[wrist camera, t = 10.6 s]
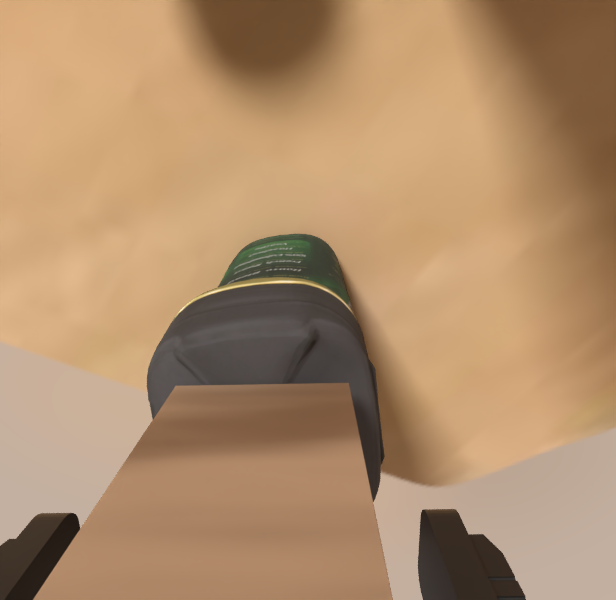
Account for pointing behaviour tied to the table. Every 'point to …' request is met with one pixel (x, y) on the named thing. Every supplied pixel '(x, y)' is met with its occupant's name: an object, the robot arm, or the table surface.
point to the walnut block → (235, 504)
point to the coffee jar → (274, 333)
